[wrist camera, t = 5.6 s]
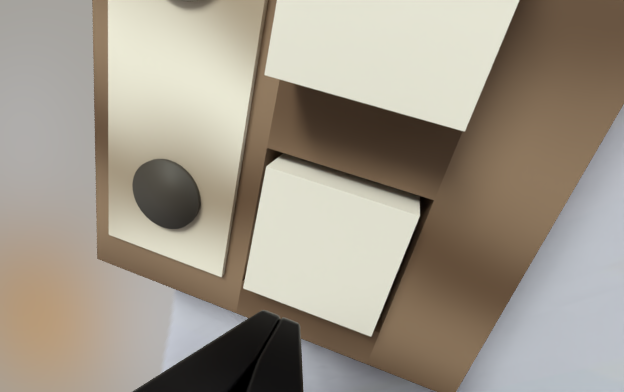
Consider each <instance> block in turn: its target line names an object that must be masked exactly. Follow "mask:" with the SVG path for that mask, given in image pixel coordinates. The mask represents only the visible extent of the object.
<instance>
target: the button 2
mask: <svg viewBox="0 0 624 392" xmlns="http://www.w3.org/2000/svg"><path fill="white" fill-rule="evenodd" d="M419 217H420V196H419V195H416V194H413V193H409V192H406V191H403V190H400V189H397V188H393V187H390V186H387V185H384V184H381V183H378V182H374V181H371V180H368V179H365V178H362V177H358V176H355V175H352V174H349V173H346V172H342V171H339V170H336V169H333V168H330V167H327V166H323V165H320V164H317V163H314V162H311V161H307V160H304V159H301V158H298V157H295V156H292V155H288V154H285V153H283V154H282V155H281V156H279V157H278V158H277V159H275V160H274V161H273V162H271V163H270V164H269V165H267V166H266V170H265V176H264V181H263V186H262V191H261V197H260V202H259V207H258V213H257V218H256V223H255V228H254V234H253V239H252V244H251V249H250V255H249V260H248V265H247V270H246V276H245V281H244V286H243V288H244V289H246V290H249V291H252V292H254V293H257V294H260V295H262V296H265V297H268V298H270V299H273V300H275V301H278V302H281V303H283V304H286V305H289V306H291V307H294V308H297V309H299V310H302V311H304V312H307V313H310V314H312V315H315V316H318V317H320V318H323V319H325V320H328V321H331V322H333V323H336V324H339V325H341V326H344V327H347V328H349V329H352V330H354V331H357V332H360V333H362V334H365V335H368V336H370V337H371V336H372V334H373V331H374V329H375V326H376V324H377V321H378V319H379V316H380V314H381V311H382V309H383V306H384V304H385V301H386V299H387V296H388V294H389V291H390V289H391V287H392V284H393V282H394V279H395V277H396V274H397V272H398V269H399V267H400V264H401V262H402V259H403V257H404V254H405V252H406V249H407V247H408V244H409V242H410V239H411V237H412V234H413V232H414V229H415V227H416V224H417V222H418V219H419Z"/></svg>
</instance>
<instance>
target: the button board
mask: <svg viewBox="0 0 624 392" xmlns="http://www.w3.org/2000/svg"><path fill="white" fill-rule="evenodd" d="M92 1H93V3H92V4H93V55H94V109H95V160H96V161H95V162H96V213H97V258H98V259H100V260H102V261H105V262H107V263H110V264H112V265H115V266H117V267H120V268H123V269H125V270H128V271H130V272H133V273H136V274H138V275H140V276H143V277H145V278H148V279H151V280H153V281H156V282H158V283H161V284H163V285H166V286H169V287H171V288H173V289H176V290H179V291H181V292H184V293H186V294H189V295H191V296H194V297H196V298H199V299H202V300H204V301H207V302H209V303H212V304H214V305H217V306H219V307H222V308H225V309H227V310H230V311H232V312H235V313H237V314H240V315H242V316H245V317H247V318H250V317H252V316H253V315H255V314H256V313H258V312H260V311H262V310H266V311H269V312H272V313H274V314H277V315H279V316H280V319H281V318H283V317H284V318H287V319H290V320H292V321H295V322H298V323H299V324H300V332H301V339H304V340H306V341H309V342H311V343H314V344H316V345H319V346H321V347H324V348H327V349H329V350H332V351H334V352H337V353H339V354H342V355H344V356H347V357H350V358H352V359H355V360H357V361H360V362H362V363H365V364H367V365H370V366H373V367H375V368H378V369H380V370H383V371H385V372H388V373H390V374H393V375H395V376H398V377H401V378H403V379H406V380H408V381H411V382H413V383H416V384H418V385H421V386H424V387H426V388H429V389H431V390H434V391H436V392H456V391H457V389H458V387H459V386H460V384H461V382H462V381H463V379H464V377H465V375H466V374H467V372H468V370H469V369H470V367H471V365H472V363H473V362H474V360H475V358H476V357H477V355H478V353H479V351H480V350H481V348H482V346H483V345H484V343H485V341H486V339H487V338H488V336H489V334H490V332H491V331H492V329H493V327H494V326H495V324H496V322H497V320H498V319H499V317H500V315H501V314H502V312H503V310H504V308H505V307H506V305H507V303H508V302H509V300H510V298H511V296H512V295H513V293H514V291H515V290H516V288H517V286H518V284H519V283H520V281H521V279H522V278H523V276H524V274H525V272H526V271H527V269H528V267H529V266H530V264H531V262H532V260H533V259H534V257H535V255H536V254H537V252H538V250H539V248H540V247H541V245H542V243H543V242H544V240H545V238H546V236H547V235H548V233H549V231H550V230H551V228H552V226H553V224H554V223H555V221H556V219H557V218H558V216H559V214H560V212H561V211H562V209H563V207H564V205H565V204H566V202H567V200H568V199H569V197H570V195H571V193H572V192H573V190H574V188H575V187H576V185H577V183H578V181H579V180H580V178H581V176H582V175H583V173H584V171H585V169H586V168H587V166H588V164H589V163H590V161H591V159H592V157H593V156H594V154H595V152H596V151H597V149H598V147H599V145H600V144H601V142H602V140H603V139H604V137H605V135H606V133H607V132H608V130H609V128H610V127H611V125H612V123H613V121H614V120H615V118H616V116H617V115H618V113H619V111H620V109H621V108H622V106H623V104H624V0H519V3H518V5H517V7H516V10H515V12H514V15H513V17H512V19H511V22H510V24H509V27H508V29H507V31H506V34H505V36H504V39H503V41H502V43H501V46H500V48H499V51H498V53H497V56H496V58H495V60H494V63H493V65H492V68H491V70H490V72H489V75H488V77H487V80H486V82H485V84H484V87H483V89H482V92H481V94H480V96H479V99H478V101H477V104H476V106H475V108H474V111H473V113H472V116H471V118H470V121H469V123H468V125H467V128H466V130H465V132H464V131H461V130H457V129H454V128H450V127H446V126H443V125H439V124H436V123H432V122H429V121H425V120H422V119H418V118H415V117H411V116H407V115H404V114H400V113H397V112H393V111H390V110H386V109H383V108H379V107H376V106H372V105H369V104H365V103H361V102H358V101H354V100H351V99H347V98H344V97H340V96H337V95H333V94H330V93H326V92H323V91H319V90H315V89H312V88H308V87H305V86H301V85H298V84H294V83H291V82H287V81H284V80H280V79H277V78H273V77H269V76H266V75H264V74H265V68H266V62H267V56H268V50H269V44H270V38H271V32H272V27H273V21H274V15H275V9H276V3H277V0H92ZM283 153H285V154H288V155H292V156H295V157H298V158H301V159H304V160H307V161H311V162H314V163H317V164H320V165H323V166H327V167H330V168H333V169H336V170H339V171H342V172H346V173H349V174H352V175H355V176H358V177H362V178H365V179H368V180H371V181H374V182H378V183H381V184H384V185H387V186H390V187H393V188H397V189H400V190H403V191H406V192H409V193H413V194H416V195H419V196H420V217H419V219H418V222H417V224H416V227H415V229H414V232H413V234H412V237H411V239H410V242H409V244H408V247H407V249H406V252H405V254H404V257H403V259H402V262H401V264H400V267H399V269H398V272H397V274H396V277H395V279H394V282H393V284H392V287H391V289H390V291H389V294H388V296H387V299H386V301H385V304H384V306H383V309H382V311H381V314H380V316H379V319H378V321H377V324H376V326H375V329H374V331H373V334H372V336H371V337H370V336H368V335H365V334H362V333H360V332H357V331H354V330H352V329H349V328H347V327H344V326H341V325H339V324H336V323H333V322H331V321H328V320H325V319H323V318H320V317H318V316H315V315H312V314H310V313H307V312H304V311H302V310H299V309H297V308H294V307H291V306H289V305H286V304H283V303H281V302H278V301H275V300H273V299H270V298H268V297H265V296H262V295H260V294H257V293H254V292H252V291H249V290H246V289H244V288H243V286H244V281H245V276H246V270H247V265H248V260H249V255H250V249H251V244H252V239H253V234H254V228H255V223H256V218H257V213H258V207H259V202H260V197H261V191H262V186H263V181H264V176H265V170H266V166H267V165H269V164H270V163H271V162H273V161H274V160H275V159H277V158H278V157H279V156H281V155H282V154H283Z"/></svg>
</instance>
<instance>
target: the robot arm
mask: <svg viewBox="0 0 624 392" xmlns="http://www.w3.org/2000/svg"><path fill="white" fill-rule="evenodd" d="M133 392H303V375H302V353H301V332H300V324H299V323H298V322H295V321H292V320H290V319H287V318H284V317H283V318H281V319H280V316H279V315H277V314H274V313H272V312H269V311H266V310H262V311H260V312H258V313H256V314H255V315H253V316H252V317H250V318H249V319H247V320H245V321H244V322H242V323H241V324H239V325H237V326H236V327H234V328H233V329H231V330H229V331H228V332H226V333H225V334H223V335H222V336H220V337H218V338H217V339H215V340H214V341H212V342H210V343H209V344H207V345H206V346H204V347H203V348H201V349H199V350H198V351H196V352H195V353H193V354H191V355H190V356H188V357H187V358H185V359H184V360H182V361H180V362H179V363H177V364H176V365H174V366H172V367H171V368H169V369H168V370H166V371H165V372H163V373H161V374H160V375H158V376H157V377H155V378H153V379H152V380H150V381H149V382H147V383H146V384H144V385H143V386H141V387H139V388H138V389H136V390H134V391H133Z"/></svg>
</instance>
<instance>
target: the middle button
mask: <svg viewBox="0 0 624 392" xmlns="http://www.w3.org/2000/svg"><path fill="white" fill-rule="evenodd" d="M518 3H519V0H277V3H276V9H275V15H274V21H273V27H272V32H271V38H270V44H269V50H268V56H267V62H266V68H265V74H264V75H266V76H269V77H273V78H277V79H280V80H284V81H287V82H291V83H294V84H298V85H301V86H305V87H308V88H312V89H315V90H319V91H323V92H326V93H330V94H333V95H337V96H340V97H344V98H347V99H351V100H354V101H358V102H361V103H365V104H369V105H372V106H376V107H379V108H383V109H386V110H390V111H393V112H397V113H400V114H404V115H407V116H411V117H415V118H418V119H422V120H425V121H429V122H432V123H436V124H439V125H443V126H446V127H450V128H454V129H457V130H461V131H464V132H465V130H466V128H467V125H468V123H469V121H470V118H471V116H472V113H473V111H474V108H475V106H476V104H477V101H478V99H479V96H480V94H481V92H482V89H483V87H484V84H485V82H486V80H487V77H488V75H489V72H490V70H491V68H492V65H493V63H494V60H495V58H496V56H497V53H498V51H499V48H500V46H501V43H502V41H503V39H504V36H505V34H506V31H507V29H508V27H509V24H510V22H511V19H512V17H513V15H514V12H515V10H516V7H517V5H518Z"/></svg>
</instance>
